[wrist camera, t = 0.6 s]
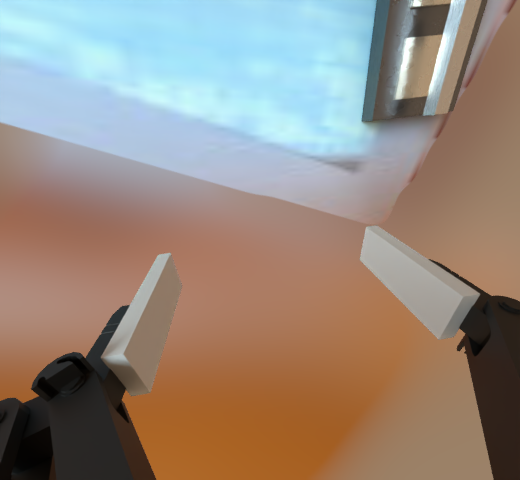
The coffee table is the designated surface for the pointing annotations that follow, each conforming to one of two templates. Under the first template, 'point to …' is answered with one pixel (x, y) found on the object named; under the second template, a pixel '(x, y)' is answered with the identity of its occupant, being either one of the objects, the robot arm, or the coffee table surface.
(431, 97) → the ball-tipped flat stick
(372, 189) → the coffee table surface
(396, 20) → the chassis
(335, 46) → the coffee table surface
